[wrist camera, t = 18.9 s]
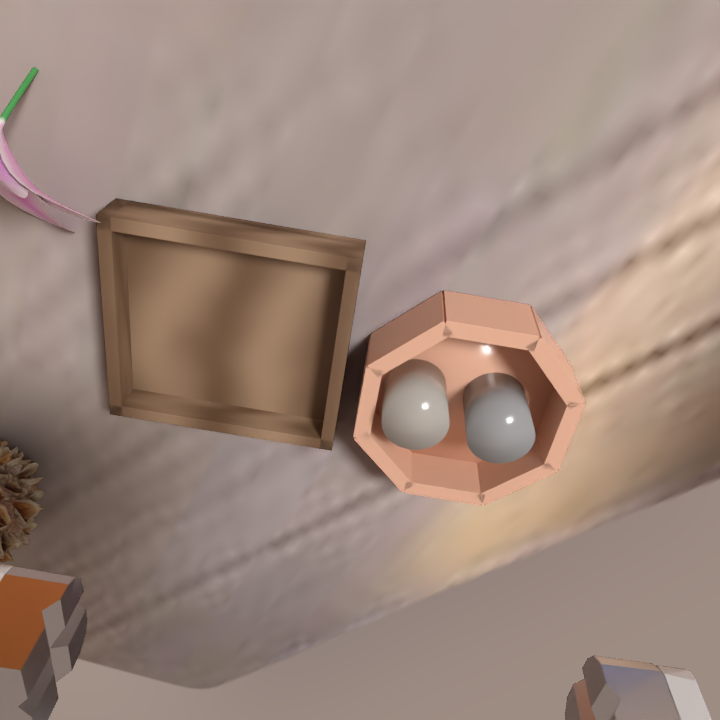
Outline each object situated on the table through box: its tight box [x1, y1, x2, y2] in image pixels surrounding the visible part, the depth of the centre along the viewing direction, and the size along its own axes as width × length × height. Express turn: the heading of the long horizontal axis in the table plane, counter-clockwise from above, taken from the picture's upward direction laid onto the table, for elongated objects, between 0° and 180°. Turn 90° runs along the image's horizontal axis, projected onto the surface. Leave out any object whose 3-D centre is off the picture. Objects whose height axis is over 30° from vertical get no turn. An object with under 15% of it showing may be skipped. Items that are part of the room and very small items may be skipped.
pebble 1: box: [381, 359, 450, 450], centre depth 40 cm, size 4×4×4 cm
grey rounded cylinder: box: [463, 372, 535, 463], centre depth 40 cm, size 4×4×4 cm
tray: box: [96, 198, 366, 451], centre depth 40 cm, size 15×14×3 cm
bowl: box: [353, 291, 586, 505], centre depth 41 cm, size 13×13×4 cm
